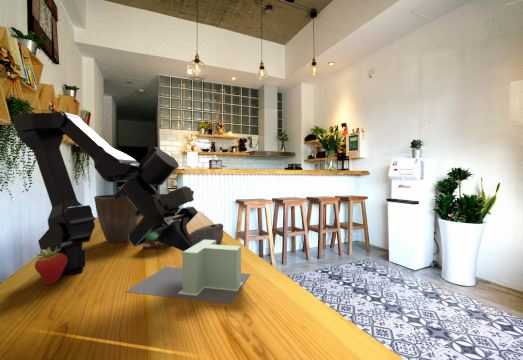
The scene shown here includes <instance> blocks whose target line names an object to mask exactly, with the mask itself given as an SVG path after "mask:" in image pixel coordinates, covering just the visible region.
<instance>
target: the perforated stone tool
mask: <svg viewBox="0 0 523 360" xmlns="http://www.w3.org/2000/svg"><path fill="white" fill-rule="evenodd" d="M188 234H189V236H190V239H191V241H192V243H193V246H194V245H196V244H197V243H199V242H201V241H202V240H216V245H221V243H222V241H223V237H224V224H222V223H214V224H213V223H212V224H211V225H205V226H202V227H200V228H197V229H195V230H193V231H192V232H190V233H188Z"/></svg>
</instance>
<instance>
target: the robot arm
mask: <svg viewBox="0 0 523 360" xmlns="http://www.w3.org/2000/svg"><path fill="white" fill-rule="evenodd" d="M13 126H14V129H15V131H16V133H17V135H18V137H19V139H20V141H21V142H22V143H23V144H24V145H25V146H26V147H28V148H29V149H30V150H31V151H32V152H33V154H34V157H35V160H36V163H37V167H38V168H39V172H40V175H41V178H42V180H43V184H44V187H45V189H46V193H47V196H48V198H49V202H50V204H51V210H50V212H49V216H48V218H47V225H48V230H46V231H45V232H44V233H43V235H42V236H41V237H40V238H39V239H38V240H37V241H38V245H39V249H40V250H41V249H42V251H47V248H48V247H49V248H50V249H51V253H52V252H54V251H55V250H56V246H57V249H60V248H61V249H60V250H59V251H58V252H56V253H62V254H64V255H66V257H67V264H66V266H65V268H64V270H63V272H62V274H61V276H65V275H71V274H77V273H82V272H83V270H84V268H85V267H86V248H85V247H83V244H84V243H88V242H90V240H91V237H92V235H93V232H94V230H95V228H96V227H95V226H96V225H95V224H96V223H95V221H96V220H97V219H96V218H95V217H94V215H93V209H92V207H91V205H89V204H85V205H83V204H82V203H81V202H80V201H78V199H77V195H76V192H75V190H74V187H73V183H72V181H71V178H70V175H69V172H68V169H67V166H66V164H65V163H66V162H65V160H64V157H63V155H62V152H61V148H60V147H61V145H62V142H63V141H64V136H66V137H68V138H69V139H70V140H71V141H73V143H74V144H75V145H76V146H78V147H79V148H80V149H81V150H82V151H83V152H84V153H85V154H86V155H88V156H89V158H91V159H92V161H93V165H94V166H93V167H94V169H95V170H96V172H97V173H98V175H100V177H101V178H102V180H103V181H105V182H107V183H108V182H109V183H123V184H122V185H121V186H117V187H116V191H115V193H114V195H115V199H125V198H127V199H128V200H129V201H130V202H131V203H132V204H133V205H134V207H135V208H136V209H137V211H136V213H135V214H136V216H137V217H138V218H140V217H141V218H142V219H141V220H140V219H139V220H140V221H139V220H138V221H137V224H136V226H135V227H134V228H133V229H132V230H131V231H130V232H129V233H128V240H129V241H128V242H130V244H131V245H132V246H133V248H136V247H138V246H141V245H142V246H143V244H144V243H145V236H146V235H147V234H150V233H152V232H155V231H156V232H157V235H158V237H157V238H156V239H155V242H160V243H163V244H166V245H169V247H172V248H175V249H177V250H180V251H182V252H183V251H185V250H187V249H189V248H190V247H192V246H193V243H192V241H191V239H190V236H189V234H190V233H189V231H188V228H187V225H188V224H189V222H191V220H193V219H194V218H195V216H196V215H197V214H198V213H199V211H198V209H196V208H195V207H194V206H186V207H181V206H183V205H184V204H188V203H191V202H193V201H194V200H195V198H194V193H195V191H194V190H192V189H191V187H189V186H186V185H183V186H181V187H179V188H176V189H174V190H172V191H170V192H168V193H160V192H159V191H158V190H157V188H155V187H154V186H161V185H163V184H164V183H166V181H167V180H168V179H169V178H170V177H171V176H172V174H173V173H175V171H176V170H177V169H178V168H179V167H180V165H179V163H178V161H177V160H176V159H175V158H174V157H173V156H171V155H170V154H169V153H167V152H165V151H163V150H162V149H161V148H160V147H156V146H152V147H151V149H149V151H148V153H147V154H146V155H145V157H144V158H143V159H141V161H140V162H138V161H137V160H136V159H135V158H133V157H131V156H130V155H128V154H127V153H124V152H122V151H120V150H119V149H115V148H113V147H112V146H111V145H109V143H108V142H106V141H105V139H103V138H102V137H100V136H99V134H98V133H96V132H95V131H94V130H93V129H92V128H91V127H89V125H87V124H86V123H85V122H84V121H83V119H82V118H81V117H80V116H78V115H77V114H73V113H69V112H65V111H62V110H60V111H54V112H26V111H25V112H22V113H20V114H19V115H18V116H16V117H15V118H14V122H13Z"/></svg>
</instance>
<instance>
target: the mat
mask: <svg viewBox="0 0 523 360" xmlns="http://www.w3.org/2000/svg"><path fill="white" fill-rule="evenodd" d="M250 276H251V273H242V272H241V284H240V285H239V287H238V288H237V290H234V289H224V288H214V287H203V288H202V289H201V290H200V291H199V292H198V293H197V294H190V293H182V267H173V266H172V267H171V266H165V267H163V268H162V269H161V268H160V269H159V270H158V271H156V272H155V273H153V274H151V275H149V276H148V277H147V278H145V279H144V280H142V281H140V282H138V283H136V284H135V285H134V286H132V287H131V288H129V289H127V290H125V291H124V293H128V294H129V293H130V294H140V295H147V296H158V297H165V298H175V299H176V298H177V299H184V300H193V301H202V302H203V301H204V302H211V303H219V304H220V303H221V304H228V305H229V304H230V305H233V303H234V301H235V300H236V298H237V296H238V295H239V294H240V291H241V290H242V289H243V287H244V285H245V284H246V282H247V281H248V280H249V277H250Z"/></svg>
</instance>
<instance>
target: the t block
mask: <svg viewBox="0 0 523 360" xmlns="http://www.w3.org/2000/svg"><path fill="white" fill-rule="evenodd" d="M181 258H182V267H181V268H182V293H190V294H197V293H198V292H199V291H200V290H201V289H202V288H203V287H214V288H224V289H234V290H237V288H238V287H239V285H240V284H241V273H242V246H240V245H228V244H216V240H202V241H201V242H199V243H197V244H196V245H194V246H192V247H190V248H189V249H187V250H185V251H182V256H181Z"/></svg>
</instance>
